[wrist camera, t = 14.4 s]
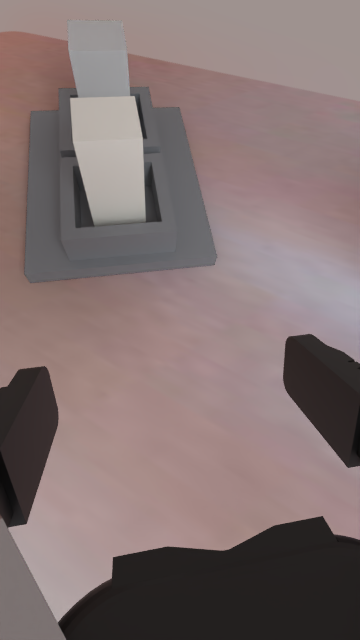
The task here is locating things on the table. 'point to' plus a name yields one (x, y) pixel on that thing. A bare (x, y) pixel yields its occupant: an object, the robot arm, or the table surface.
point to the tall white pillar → (110, 158)
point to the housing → (69, 192)
